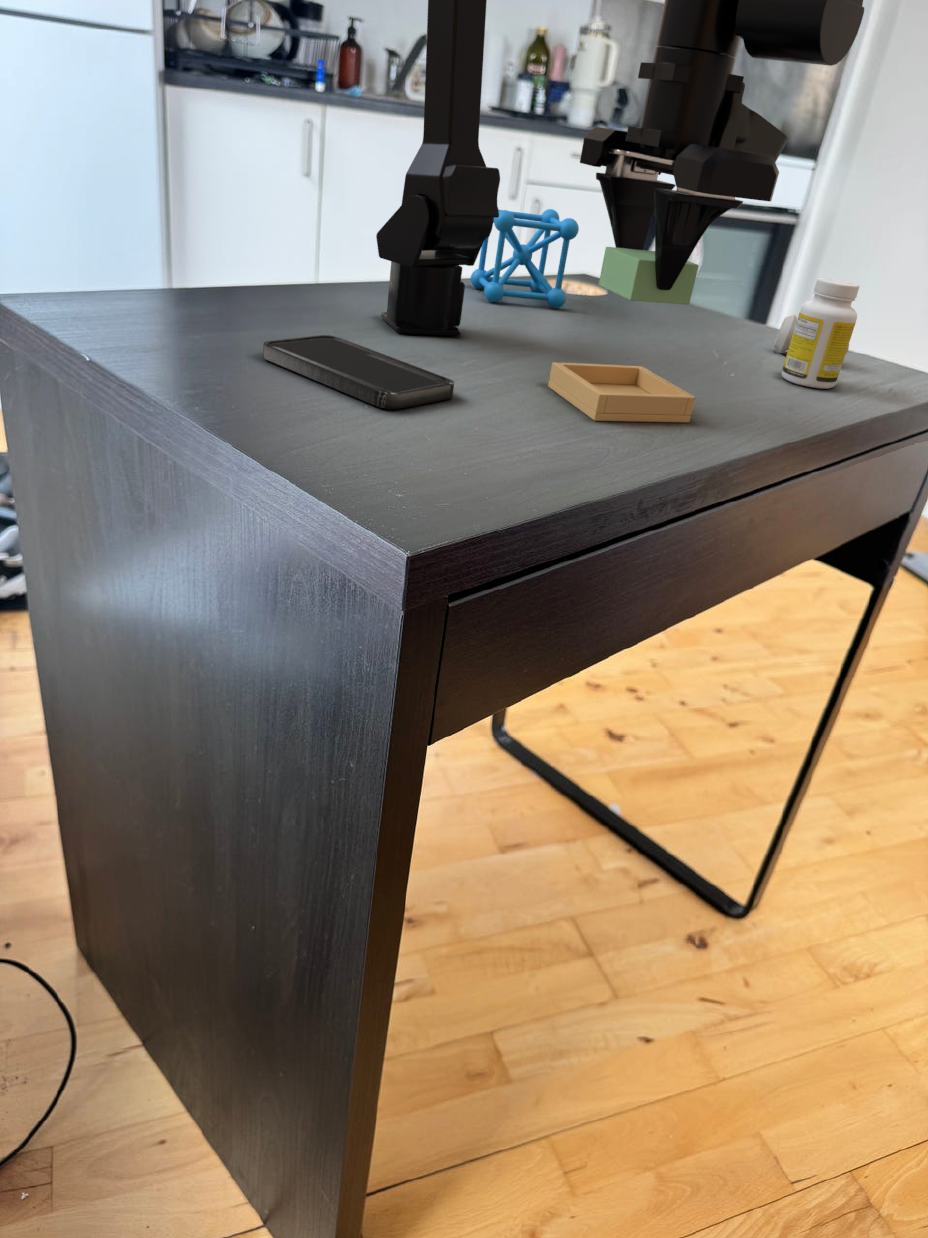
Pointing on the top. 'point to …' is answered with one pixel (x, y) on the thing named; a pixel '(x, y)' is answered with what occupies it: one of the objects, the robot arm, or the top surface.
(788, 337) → the smooth white sculpture
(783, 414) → the top surface
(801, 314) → the supplement bottle
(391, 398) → the phone
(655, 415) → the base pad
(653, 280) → the green pad
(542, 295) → the molecular structure
